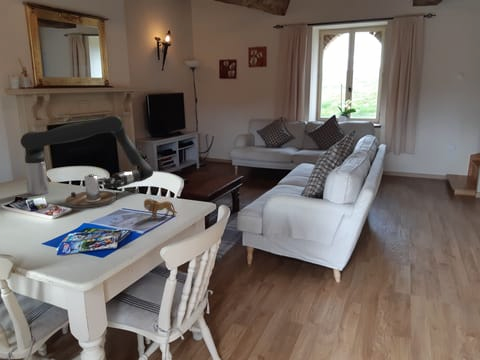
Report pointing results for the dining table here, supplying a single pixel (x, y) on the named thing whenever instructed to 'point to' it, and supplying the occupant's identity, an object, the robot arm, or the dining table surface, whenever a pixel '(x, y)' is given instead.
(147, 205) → the lion figurine
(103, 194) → the turntable
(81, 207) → the turntable base
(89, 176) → the canister
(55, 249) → the dining table surface
